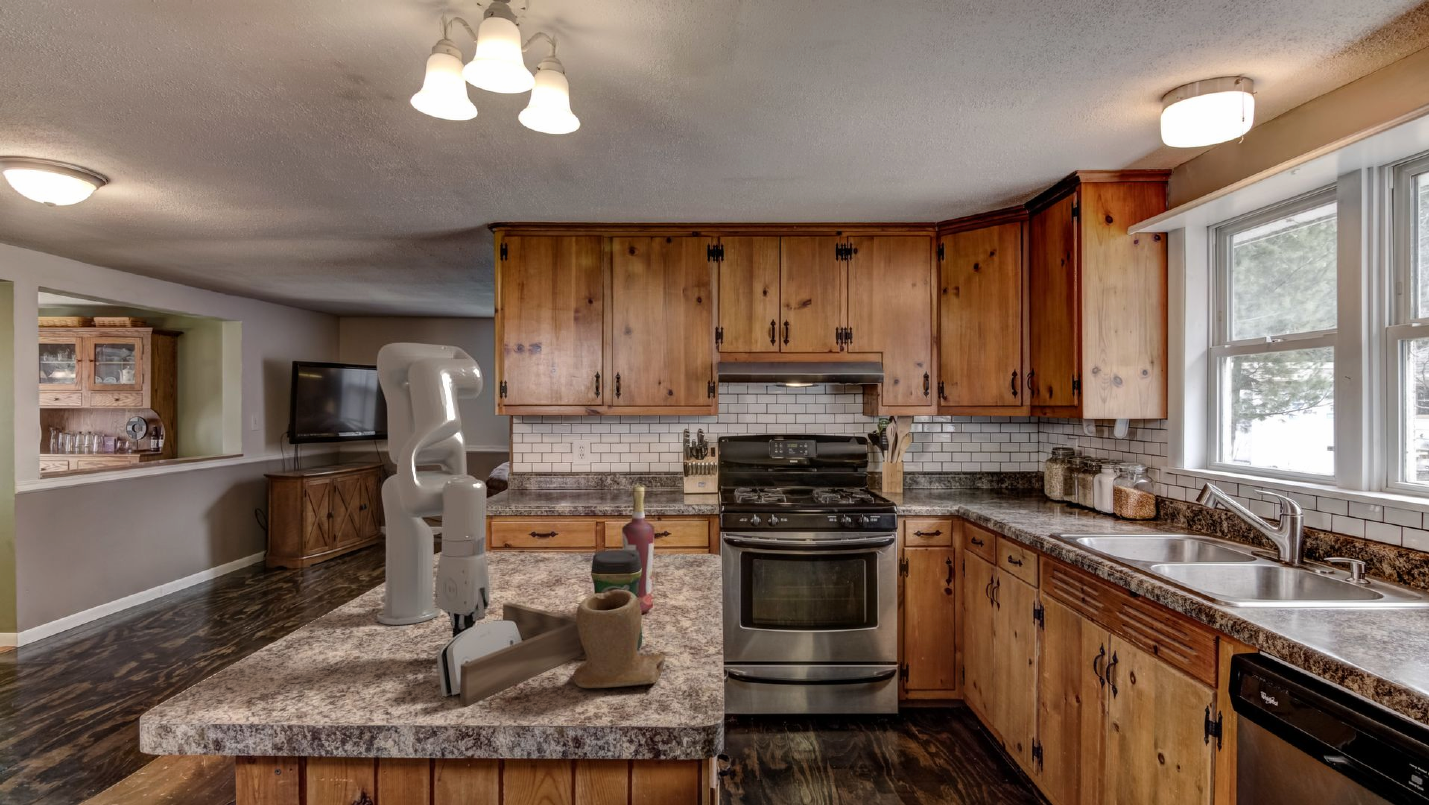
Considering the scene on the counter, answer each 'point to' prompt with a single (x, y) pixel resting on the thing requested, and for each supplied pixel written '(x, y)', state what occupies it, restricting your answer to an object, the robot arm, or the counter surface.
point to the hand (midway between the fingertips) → (462, 647)
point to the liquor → (641, 547)
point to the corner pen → (522, 653)
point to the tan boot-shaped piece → (613, 643)
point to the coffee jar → (617, 573)
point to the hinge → (472, 650)
